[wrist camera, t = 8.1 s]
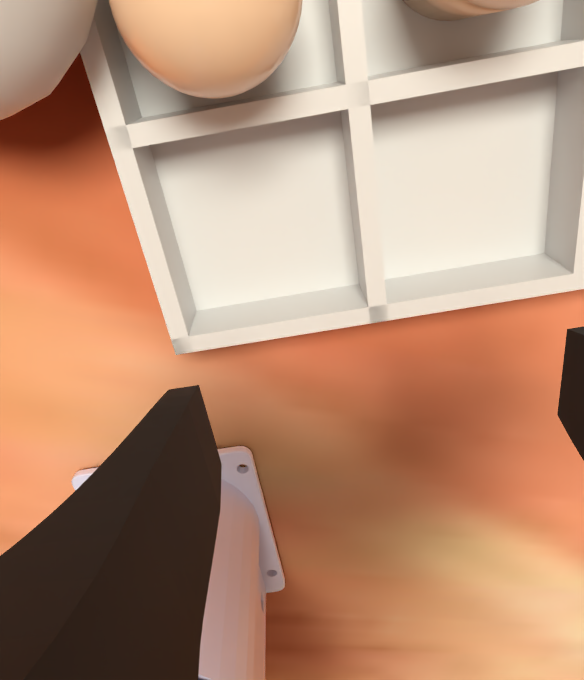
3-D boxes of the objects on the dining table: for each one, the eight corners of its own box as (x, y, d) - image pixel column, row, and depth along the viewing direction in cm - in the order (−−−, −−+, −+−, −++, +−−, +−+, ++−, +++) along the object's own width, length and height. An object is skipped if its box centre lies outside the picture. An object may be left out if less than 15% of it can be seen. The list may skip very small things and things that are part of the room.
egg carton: (737, 230, 19) (799, 254, 16) (186, 321, 20) (175, 354, 17) (886, -339, 12) (1022, -427, 10) (44, -160, 13) (-2, -204, 11)
